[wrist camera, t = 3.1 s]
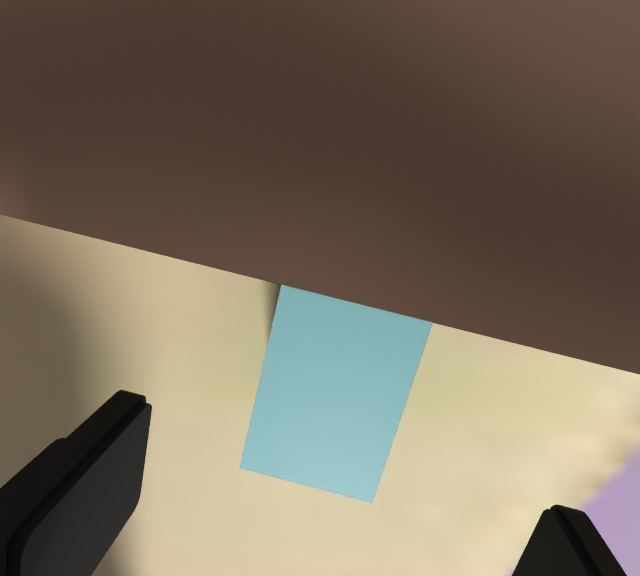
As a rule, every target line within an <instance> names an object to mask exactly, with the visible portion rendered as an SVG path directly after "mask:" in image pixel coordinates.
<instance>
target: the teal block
mask: <svg viewBox="0 0 640 576" xmlns="http://www.w3.org/2000/svg"><path fill="white" fill-rule="evenodd" d="M431 326H432V322H428V321H424V320H420V319H416V318H413V317H409V316H405V315H401V314H397V313H393V312H389V311H385V310H381V309H377V308H373V307H369V306H365V305H361V304H357V303H353V302H349V301H345V300H341V299H337V298H333V297H329V296H325V295H321V294H317V293H313V292H309V291H305V290H301V289H297V288H293V287H289V286H285V285H281V288H280V293H279V297H278V302H277V306H276V310H275V315H274V319H273V324H272V328H271V332H270V337H269V341H268V346H267V350H266V354H265V359H264V363H263V368H262V372H261V376H260V381H259V385H258V389H257V394H256V398H255V403H254V407H253V411H252V416H251V420H250V425H249V429H248V433H247V438H246V442H245V447H244V451H243V455H242V460H241V464H240V468H241V469H245V470H249V471H253V472H256V473H260V474H264V475H268V476H272V477H275V478H279V479H283V480H287V481H291V482H294V483H298V484H302V485H306V486H309V487H313V488H317V489H321V490H325V491H328V492H332V493H336V494H340V495H344V496H347V497H351V498H355V499H359V500H362V501H366V502H370V503H373V500H374V497H375V494H376V491H377V488H378V485H379V482H380V479H381V476H382V473H383V470H384V467H385V464H386V461H387V458H388V455H389V452H390V449H391V446H392V443H393V440H394V437H395V434H396V431H397V428H398V425H399V422H400V419H401V416H402V413H403V410H404V407H405V404H406V401H407V398H408V395H409V392H410V389H411V386H412V383H413V380H414V377H415V374H416V371H417V368H418V365H419V362H420V359H421V356H422V353H423V350H424V347H425V344H426V341H427V338H428V335H429V332H430V329H431Z"/></svg>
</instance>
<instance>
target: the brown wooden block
mask: <svg viewBox="0 0 640 576" xmlns="http://www.w3.org/2000/svg"><path fill="white" fill-rule="evenodd" d="M0 214H1V215H5V216H9V217H13V218H17V219H21V220H25V221H29V222H33V223H37V224H41V225H45V226H49V227H53V228H57V229H61V230H65V231H69V232H73V233H77V234H81V235H85V236H89V237H93V238H97V239H101V240H105V241H109V242H113V243H117V244H121V245H125V246H129V247H133V248H137V249H141V250H145V251H149V252H153V253H157V254H161V255H165V256H169V257H173V258H177V259H181V260H185V261H189V262H193V263H197V264H201V265H205V266H209V267H213V268H217V269H221V270H225V271H229V272H233V273H237V274H241V275H245V276H249V277H253V278H257V279H261V280H265V281H269V282H273V283H277V284H281V285H285V286H289V287H293V288H297V289H301V290H305V291H309V292H313V293H317V294H321V295H325V296H329V297H333V298H337V299H341V300H345V301H349V302H353V303H357V304H361V305H365V306H369V307H373V308H377V309H381V310H385V311H389V312H393V313H397V314H401V315H405V316H409V317H413V318H416V319H420V320H424V321H428V322H432V323H436V324H440V325H444V326H448V327H452V328H456V329H460V330H464V331H468V332H472V333H476V334H480V335H484V336H488V337H492V338H496V339H500V340H504V341H508V342H512V343H516V344H520V345H524V346H528V347H532V348H536V349H540V350H544V351H548V352H552V353H556V354H560V355H564V356H568V357H572V358H576V359H580V360H584V361H588V362H592V363H596V364H600V365H604V366H608V367H612V368H616V369H620V370H624V371H628V372H632V373H636V374H640V0H0Z"/></svg>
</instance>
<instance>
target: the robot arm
mask: <svg viewBox="0 0 640 576" xmlns="http://www.w3.org/2000/svg"><path fill="white" fill-rule="evenodd" d="M151 411H152V406H151V404H148V403H146V397H145V396H143V395H139V394H136V393H132V392H128V391H124V390H119V391H118V392H116V393H115V394H114V395H113V396H112V397H111V398H110V399H109V400H108V401H106V402H105V403H104V404H103V405H102V406H101V407H100V408H99V409H98V410H97V411H95V412H94V413H93V414H92V415H91V416H90V417H89V418H88V419H87V420H86V421H84V422H83V423H82V424H81V425H80V426H79V427H78V428H77V429H76V430H75V431H73V432H72V433H71V434H70V435H69V436H68V437H67V438H66V439H65V438H60V439H57V440H56V441H54V442H53V443H51V444H50V445H49V446H48V447H47V448H46V449H44V450H43V451H42V452H41V453H40V454H39V455H38V456H37V457H35V458H34V459H33V460H32V461H31V462H30V463H29V464H27V465H26V466H25V467H24V468H23V469H22V470H21V471H20V472H18V473H17V474H16V475H15V476H14V477H13V478H12V479H10V480H9V481H8V482H7V483H6V484H5V485H4V486H2V487H1V488H0V576H91V575H92V573H93V572H94V570H95V569H96V567H97V566H98V564H99V563H100V561H101V560H102V558H103V557H104V555H105V554H106V552H107V551H108V549H109V548H110V546H111V545H112V543H113V542H114V540H115V539H116V537H117V536H118V534H119V533H120V531H121V530H122V528H123V527H124V525H125V524H126V522H127V521H128V519H129V518H130V516H131V515H132V513H133V512H134V510H135V508H136V506H137V504H138V501H139V498H140V493H141V486H142V478H143V471H144V464H145V456H146V449H147V441H148V434H149V426H150V419H151ZM512 576H627V575H626V574H625V572H624V571H623V569H622V568H621V566H620V564H619V563H618V562H617V560H616V558H615V557H614V555H613V554H612V552H611V551H610V549H609V548H608V546H607V545H606V543H605V541H604V540H603V539H602V537H601V535H600V534H599V532H598V531H597V529H596V528H595V526H594V525H593V523H592V522H591V520H590V519H589V517H588V516H587V515H586V514H585V513H584V512H582V511H580V510H576V509H572V508H569V507H565V506H561V505H554V506H552V507H551V509H546V510H544V511H543V513H542V515H541V517H540V519H539V521H538V523H537V525H536V527H535V529H534V531H533V533H532V535H531V537H530V539H529V541H528V544H527V546H526V548H525V550H524V552H523V554H522V556H521V558H520V560H519V562H518V564H517V566H516V568H515V570H514V572H513V574H512Z"/></svg>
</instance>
